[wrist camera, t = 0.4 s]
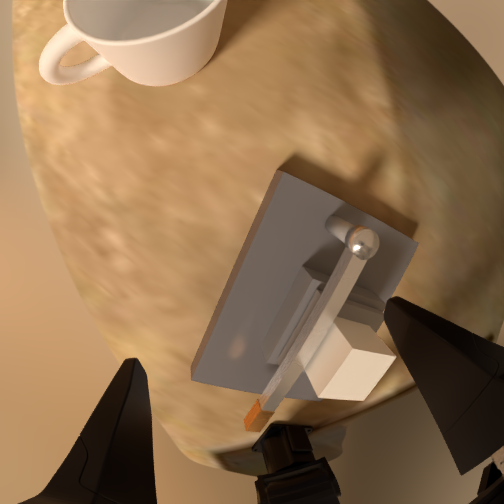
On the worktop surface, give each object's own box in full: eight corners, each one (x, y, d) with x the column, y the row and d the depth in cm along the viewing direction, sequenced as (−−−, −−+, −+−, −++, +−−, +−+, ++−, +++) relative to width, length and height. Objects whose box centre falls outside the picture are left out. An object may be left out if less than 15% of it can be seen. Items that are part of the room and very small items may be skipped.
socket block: (315, 389, 32) (333, 425, 26) (190, 366, 27) (191, 410, 22) (406, 237, 27) (444, 257, 21) (276, 169, 22) (301, 177, 17)
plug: (330, 354, 27) (365, 411, 20) (269, 341, 25) (294, 407, 18) (365, 295, 26) (415, 345, 18) (304, 274, 24) (348, 329, 16)
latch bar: (260, 421, 24) (263, 432, 22) (240, 419, 23) (242, 430, 22) (374, 231, 19) (384, 236, 18) (352, 220, 18) (362, 225, 17)
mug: (94, 132, 19) (24, 126, 9) (62, 53, 16) (-5, 15, 6) (235, 62, 19) (263, 3, 9) (195, -13, 16) (198, -90, 6)
